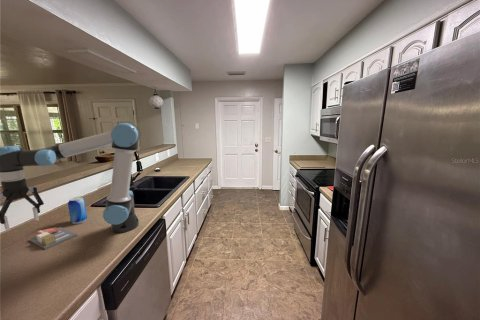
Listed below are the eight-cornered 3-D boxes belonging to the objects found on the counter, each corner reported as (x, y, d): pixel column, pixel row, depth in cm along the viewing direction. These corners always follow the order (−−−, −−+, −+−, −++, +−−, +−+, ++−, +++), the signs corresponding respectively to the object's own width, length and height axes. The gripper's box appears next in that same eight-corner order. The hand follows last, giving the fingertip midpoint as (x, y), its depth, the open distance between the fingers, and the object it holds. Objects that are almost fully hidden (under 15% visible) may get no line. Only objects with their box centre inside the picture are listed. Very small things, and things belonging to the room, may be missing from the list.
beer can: (90, 218, 134) (87, 196, 131) (79, 225, 125) (75, 201, 122) (79, 218, 134) (75, 195, 131) (67, 224, 126) (63, 200, 123)
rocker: (59, 231, 115) (59, 229, 115) (41, 235, 108) (41, 233, 108) (54, 229, 117) (55, 227, 117) (36, 233, 110) (36, 230, 110)
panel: (77, 235, 113) (76, 232, 113) (45, 249, 101) (44, 245, 101) (60, 228, 121) (60, 225, 121) (29, 240, 108) (28, 236, 108)
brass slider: (55, 241, 106) (54, 235, 105) (46, 245, 102) (44, 239, 102) (52, 239, 107) (50, 233, 107) (42, 243, 104) (41, 237, 103)
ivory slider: (51, 239, 108) (50, 233, 107) (41, 243, 104) (40, 237, 104) (47, 237, 110) (46, 231, 109) (37, 241, 106) (36, 235, 105)
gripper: (41, 173, 102) (48, 213, 107) (-29, 185, 83) (-17, 233, 87) (48, 175, 99) (55, 216, 103) (-23, 187, 80) (-10, 238, 84)
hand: (22, 224), depth 95 cm, fingers open, 9 cm apart
